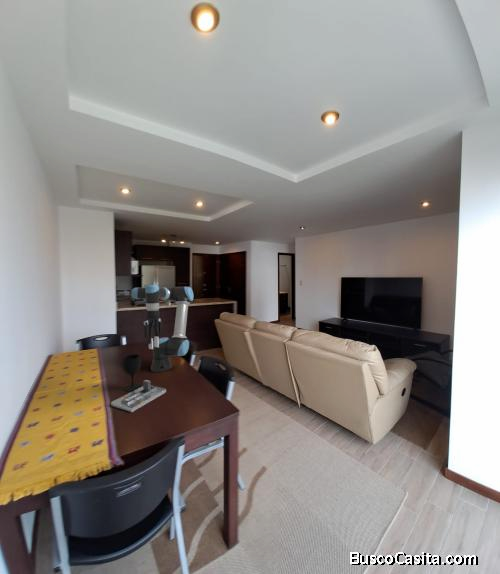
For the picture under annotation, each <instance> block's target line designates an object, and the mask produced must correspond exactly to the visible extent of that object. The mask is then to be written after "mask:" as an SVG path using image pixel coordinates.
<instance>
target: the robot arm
mask: <svg viewBox="0 0 500 574" xmlns="http://www.w3.org/2000/svg"><path fill="white" fill-rule="evenodd" d="M194 296H195V295H194V291H193V289H192V287H191V286H170V287H164V286H160V287H159V285H158V284H146V285H145V287H134V288H133V289H131V298H133V299H134V300H145V309H146V311H145V316H146V320H145V321H142V325H143V330H144V331H143V332H144V338H145V339H147V344H148V349H149V350H152V363H151V366H150V372H153V373H163V372H166V371H167V372H168V371H169V370H171V369H173V368H172V367H173V365H172V364H173V363H172V362H171V361H172V360H171V359H170V356H173V357H175V356H176V357H181V356H183V357H184V356H186V354H187V353H188V351H189V348H190V341H189V340H188V337H187V336H186V331H187V330H186V329H187V321H188V312H189V311H188V310H189V306H190V304H191V302H193V301H194ZM160 300H162V301H169V302H175V304H176V311H175V322H174V327H173V328H174V330H173V334H172V336H171V339H170V338H169V337H167V336H166V337H161V336H162V334H163V331H162V330H163V318H160ZM153 331H154V335H155V336H154V337H153ZM152 337H153V338H152Z"/></svg>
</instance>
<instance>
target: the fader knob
mask: <svg viewBox="0 0 500 574" xmlns="http://www.w3.org/2000/svg"><path fill="white" fill-rule="evenodd" d="M151 383H152V382H151V380H147V379H145V380H143V381H142V387H143V389H144V392H147V391H149V390H150V389H151V385H152V384H151Z"/></svg>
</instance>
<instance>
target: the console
mask: <svg viewBox="0 0 500 574" xmlns="http://www.w3.org/2000/svg"><path fill="white" fill-rule="evenodd" d="M166 393H167V388H164V387H159V386H155V385H152V384H151V389H150V390H149V391H147V392H144V389H143V386H142V387H141V388H139V389H137V390H135V391H130V392H128V393H127V394H124V395H123V396H121V397H118V398H117V399H115V400H113V401H110V405H111V407H114V408H117V409H121V410H123V411H127V412H130V413H134V411H136V410H138V409H139V408H142V407H143V406H145V405H147V404H149V403H151V401H153V400H155V399H157V398H159V397H160V396H162V395H164V394H166Z"/></svg>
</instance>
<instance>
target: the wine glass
mask: <svg viewBox="0 0 500 574" xmlns="http://www.w3.org/2000/svg"><path fill="white" fill-rule="evenodd" d="M141 366H142V360H141V357H140V355H139V354H128V355H125V356H124V357H123V361H122V369H123V371H124V372H125V373H126V374H127V375H129V376H130V378H131V383H130V384H129V385H126V386H124V388H123V391H125V392H127V393H131V392H133V391H135V390H137V389H139V388H141V387H143V384H140V383H134V377H135V375H136V374H137V373H138V372H139V371H140V370H141Z"/></svg>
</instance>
